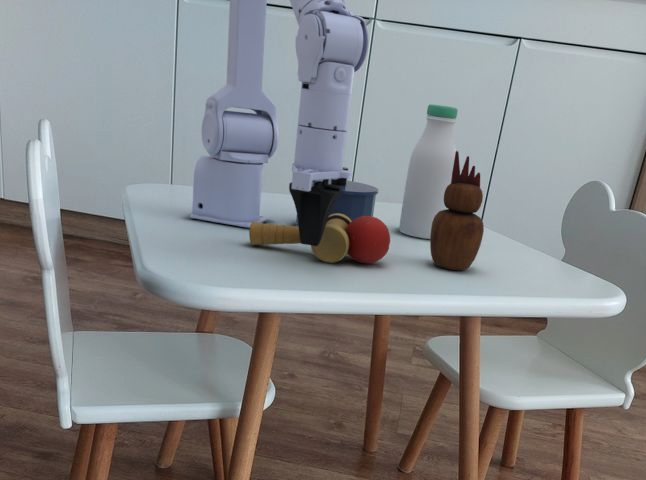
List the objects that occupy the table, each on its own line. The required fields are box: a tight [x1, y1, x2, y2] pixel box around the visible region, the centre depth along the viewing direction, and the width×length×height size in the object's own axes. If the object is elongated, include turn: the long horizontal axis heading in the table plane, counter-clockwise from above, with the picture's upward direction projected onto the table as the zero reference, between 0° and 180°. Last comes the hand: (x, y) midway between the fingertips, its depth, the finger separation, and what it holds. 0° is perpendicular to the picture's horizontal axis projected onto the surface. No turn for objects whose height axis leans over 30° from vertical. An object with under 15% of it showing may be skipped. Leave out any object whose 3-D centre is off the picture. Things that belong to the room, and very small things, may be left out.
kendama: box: [248, 213, 391, 264], centre depth 88 cm, size 8×6×18 cm
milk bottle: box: [398, 103, 458, 240], centre depth 108 cm, size 8×8×20 cm
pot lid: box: [328, 166, 379, 196], centre depth 103 cm, size 12×12×4 cm
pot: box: [295, 194, 377, 227], centre depth 104 cm, size 11×11×6 cm
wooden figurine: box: [429, 150, 485, 271], centre depth 90 cm, size 7×6×15 cm
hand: (309, 244), depth 83 cm, fingers closed
